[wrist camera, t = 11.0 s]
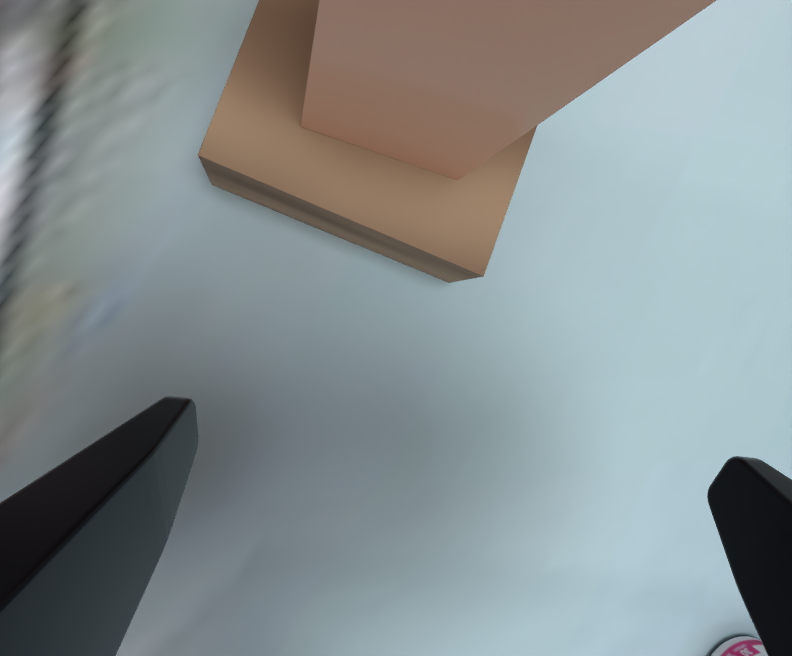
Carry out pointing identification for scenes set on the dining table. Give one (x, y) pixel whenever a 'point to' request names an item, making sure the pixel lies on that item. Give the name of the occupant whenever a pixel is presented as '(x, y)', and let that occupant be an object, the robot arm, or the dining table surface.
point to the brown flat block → (345, 162)
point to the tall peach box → (466, 69)
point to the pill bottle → (741, 647)
